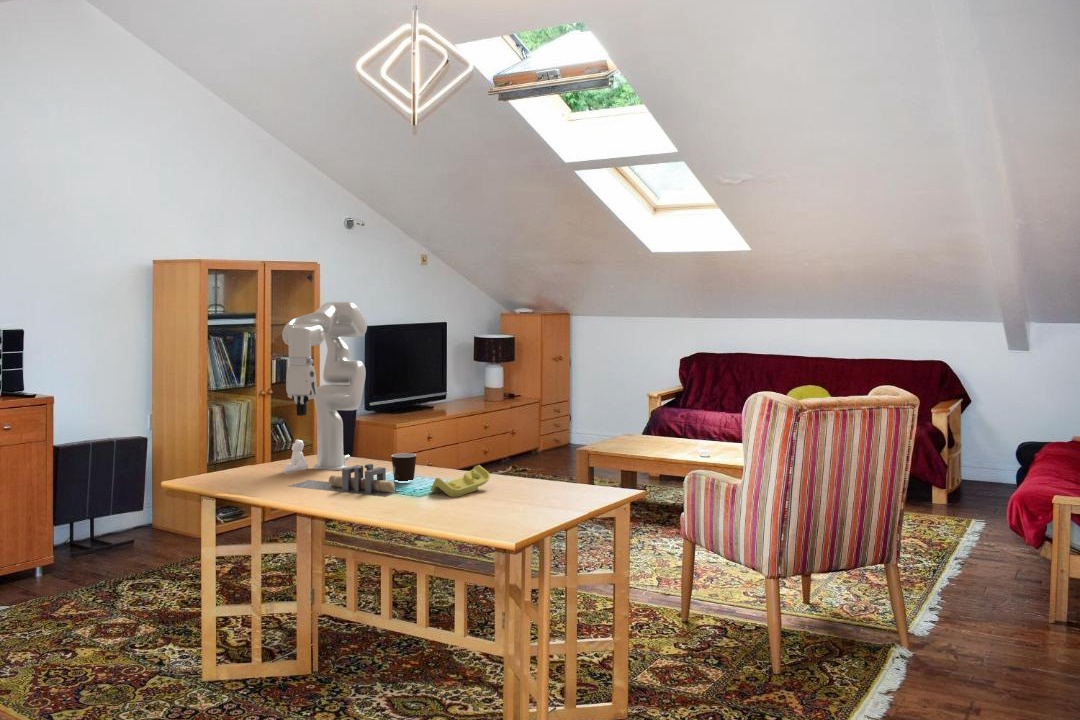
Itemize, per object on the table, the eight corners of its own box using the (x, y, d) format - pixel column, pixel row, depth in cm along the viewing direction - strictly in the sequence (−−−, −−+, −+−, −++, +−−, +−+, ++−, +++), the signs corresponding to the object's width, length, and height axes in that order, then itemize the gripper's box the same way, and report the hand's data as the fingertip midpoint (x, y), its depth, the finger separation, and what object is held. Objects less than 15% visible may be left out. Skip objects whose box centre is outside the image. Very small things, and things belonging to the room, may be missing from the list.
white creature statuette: (285, 469, 361) (284, 437, 360) (309, 468, 362) (308, 437, 362) (283, 473, 351) (282, 441, 351) (307, 473, 353) (307, 440, 352)
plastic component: (454, 491, 310) (434, 474, 315) (448, 509, 313) (428, 493, 318) (495, 477, 325) (475, 462, 330) (489, 495, 328) (470, 479, 333)
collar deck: (309, 482, 336) (308, 457, 335) (406, 492, 319) (405, 466, 318) (286, 488, 325) (285, 462, 324) (385, 499, 308) (385, 472, 307)
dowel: (327, 484, 323) (330, 474, 324) (333, 487, 326) (336, 476, 327) (387, 491, 312) (389, 480, 313) (393, 493, 316) (395, 482, 317)
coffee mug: (414, 486, 328) (414, 457, 328) (389, 486, 329) (389, 457, 328) (419, 480, 340) (419, 451, 339) (395, 479, 340) (395, 451, 339)
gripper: (324, 362, 330) (326, 415, 332) (289, 360, 336) (291, 412, 338) (311, 364, 323) (312, 418, 325) (275, 362, 329) (277, 415, 331)
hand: (301, 415), depth 331 cm, fingers closed
